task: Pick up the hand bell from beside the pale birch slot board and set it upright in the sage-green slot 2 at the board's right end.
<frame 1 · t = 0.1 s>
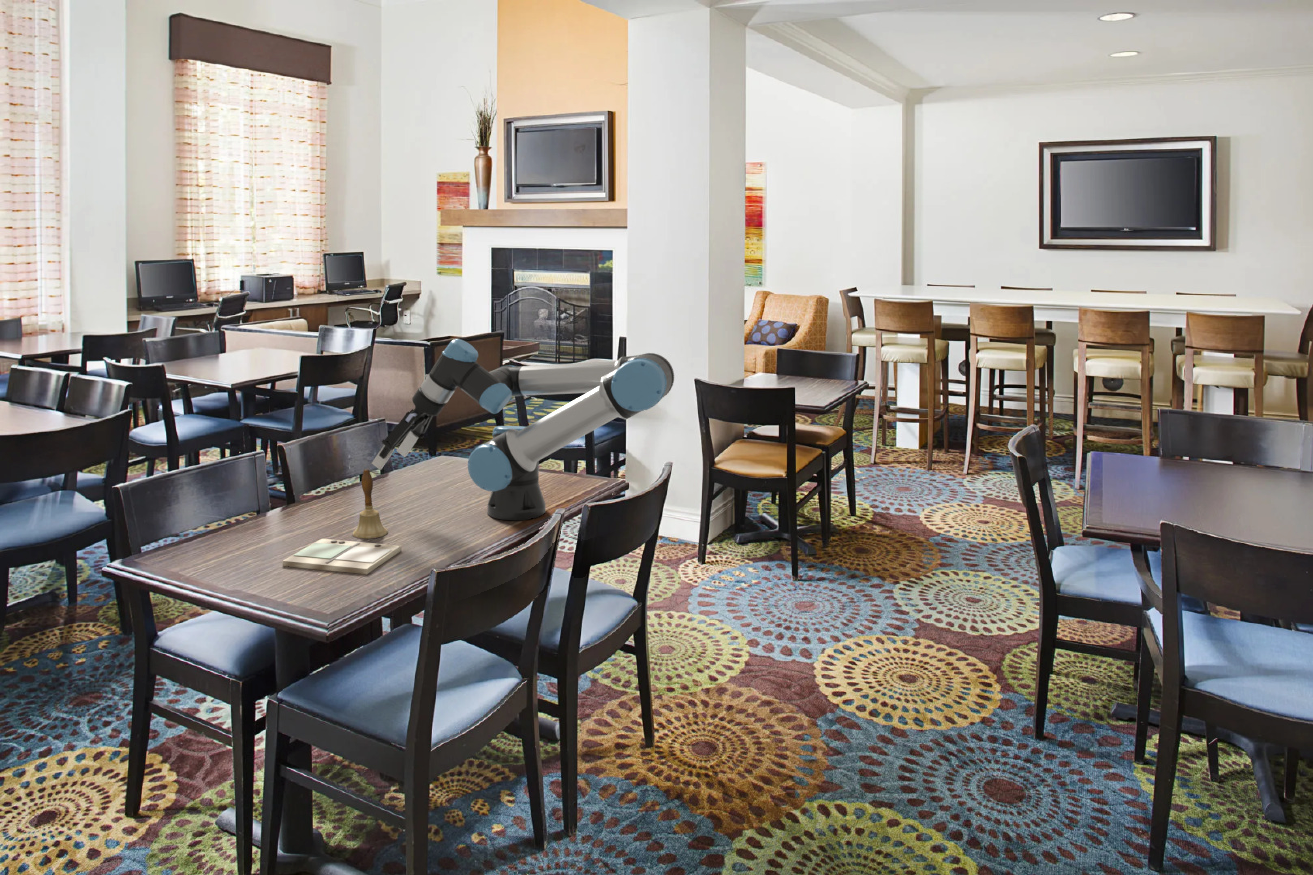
hand: (389, 460, 242), 15 cm above the table, tool tilted 35°, fingers open, 13 cm apart
slot board: (343, 558, 215), on the table
hand bell: (370, 534, 233), on the table
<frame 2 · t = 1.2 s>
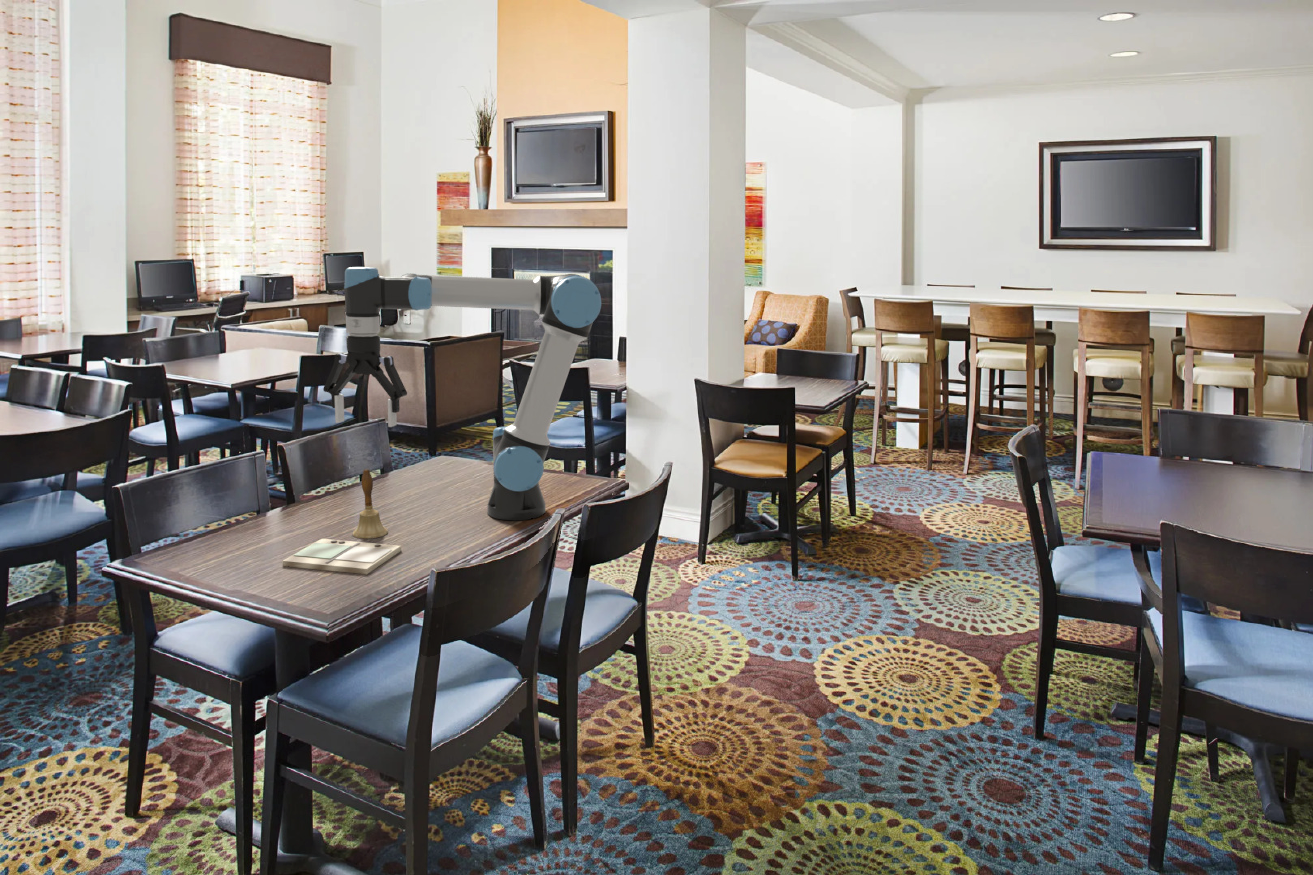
hand: (366, 424, 228), 27 cm above the table, tool pointing down, fingers open, 13 cm apart
nothing on the table moved.
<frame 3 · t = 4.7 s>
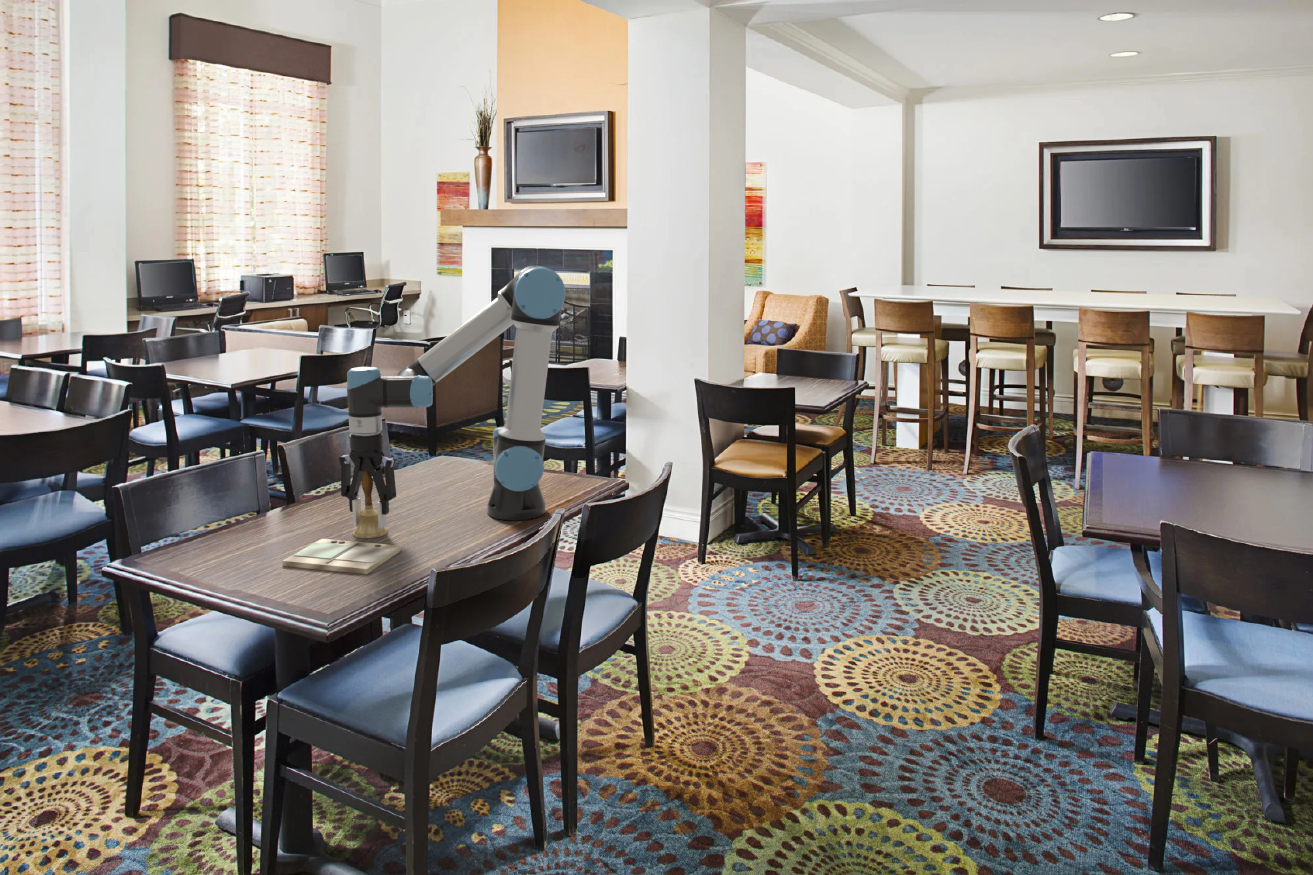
hand: (370, 525, 233), 2 cm above the table, tool pointing down, fingers closed on hand bell, 6 cm apart
hand bell: (370, 534, 233), on the table, touching gripper
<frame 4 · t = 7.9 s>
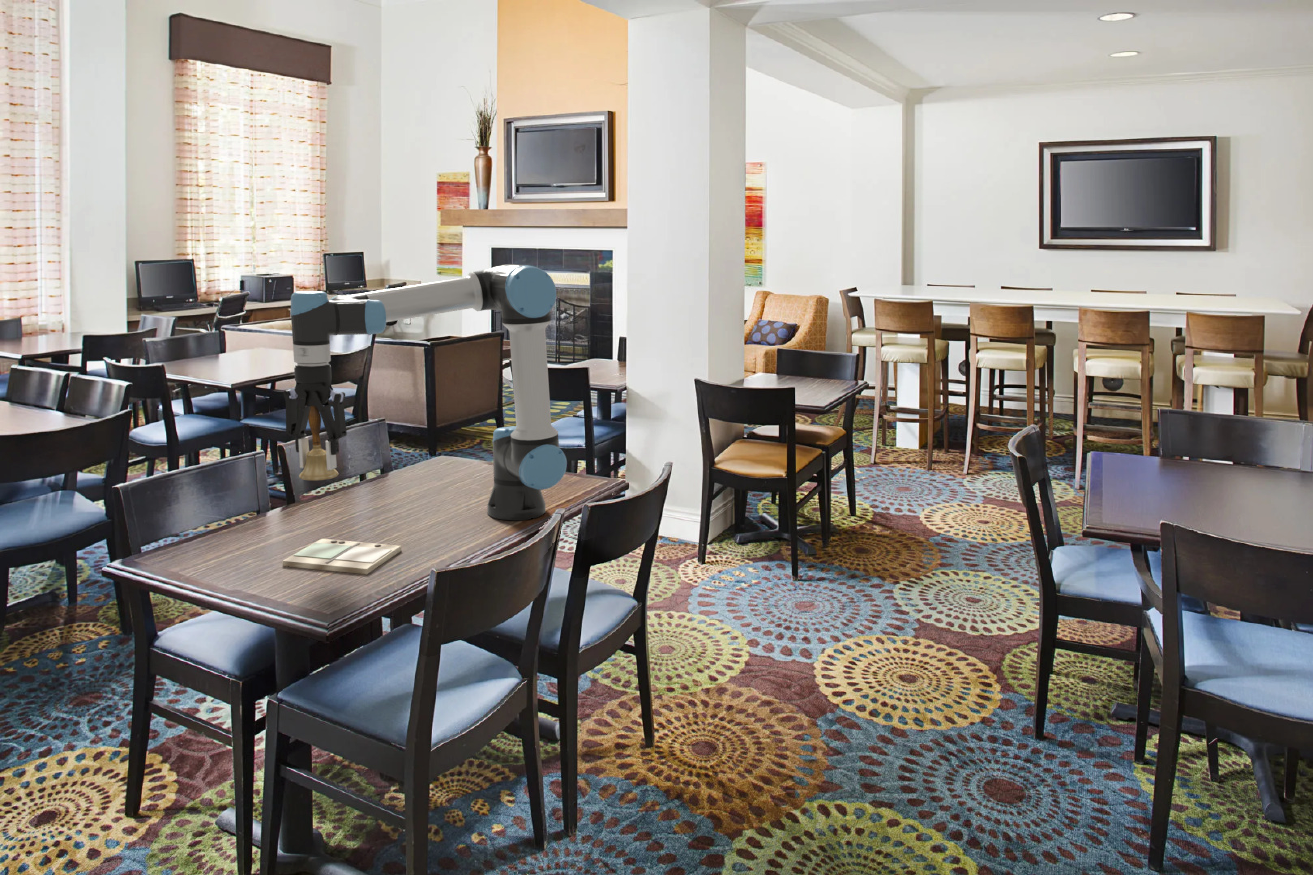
hand: (318, 467, 212), 21 cm above the table, tool pointing down, fingers closed on hand bell, 6 cm apart
hand bell: (319, 476, 212), point 18 cm above the table, touching gripper
when the fingers open (5 cm above the table, at t = 11.5 s): hand bell drops 1 cm, resting on slot board.
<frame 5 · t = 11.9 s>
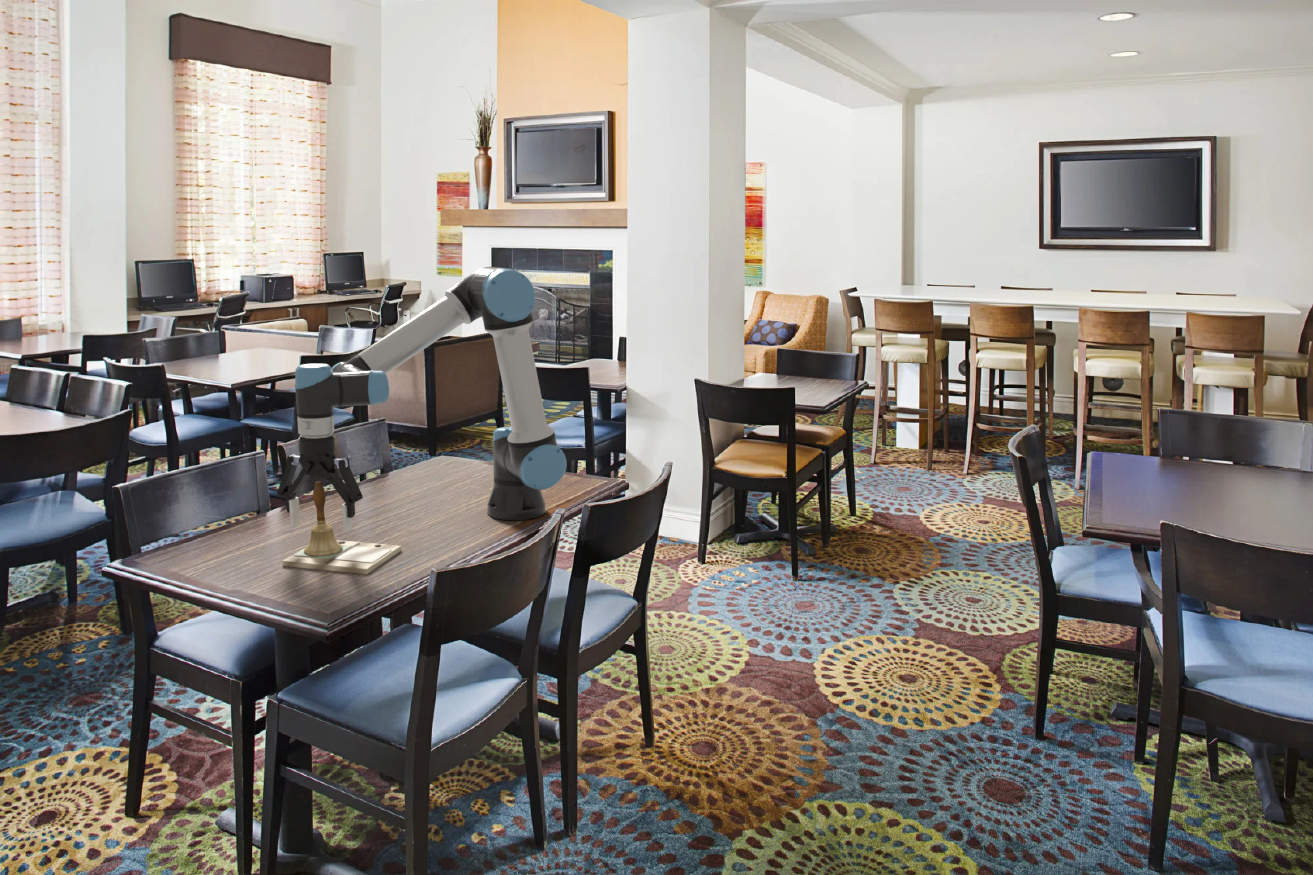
hand: (321, 528, 215), 6 cm above the table, tool pointing down, fingers open, 12 cm apart
hand bell: (323, 551, 216), point 1 cm above the table, touching slot board
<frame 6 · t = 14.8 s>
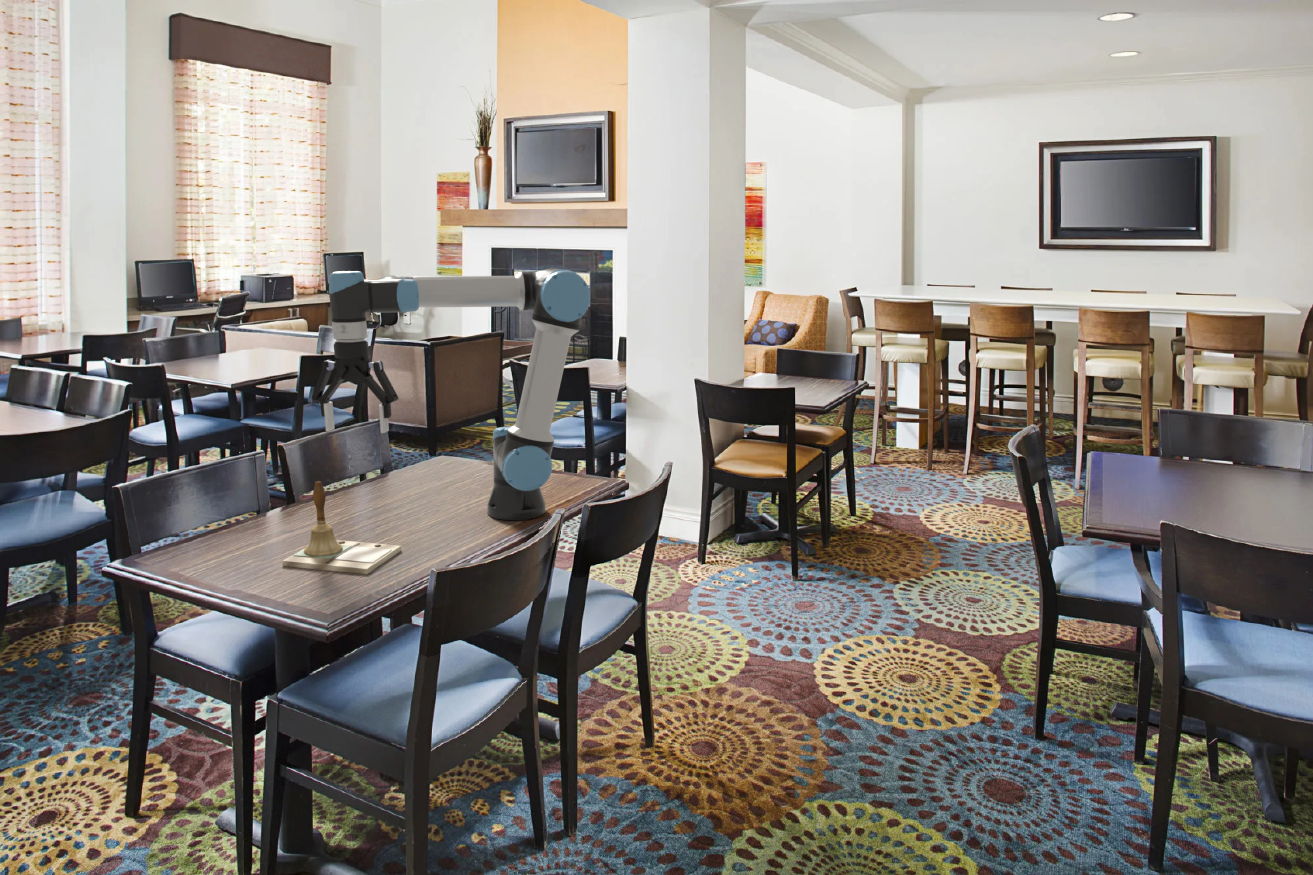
hand: (357, 431, 223), 26 cm above the table, tool pointing down, fingers open, 13 cm apart
nothing on the table moved.
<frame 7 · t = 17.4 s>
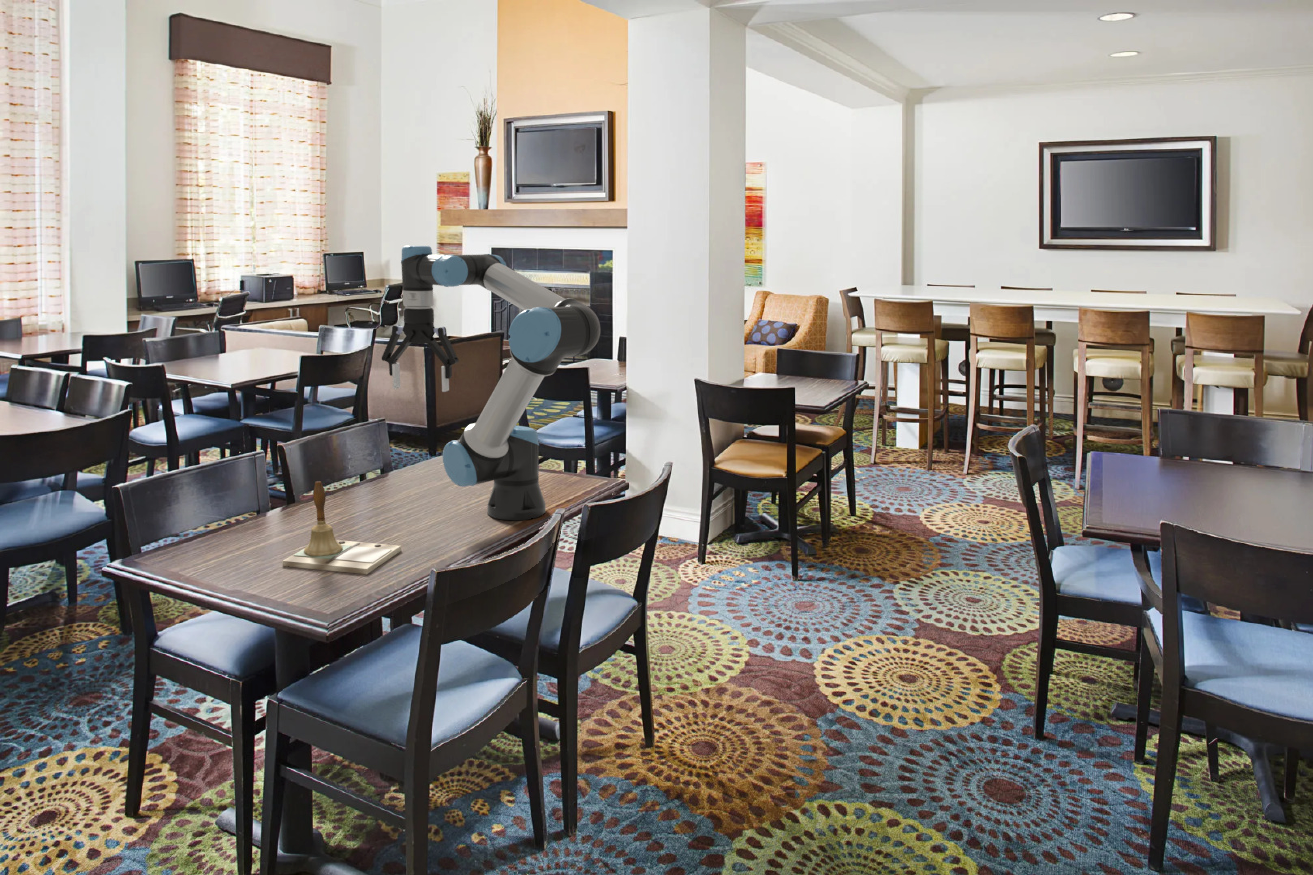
hand: (421, 389, 249), 32 cm above the table, tool pointing down, fingers open, 13 cm apart
nothing on the table moved.
at the end: hand bell inside the target area on the slot board (0.1 cm from its centre), point 1.2 cm above the slot board's base; hand bell tilted 0°; the gripper is holding nothing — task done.
